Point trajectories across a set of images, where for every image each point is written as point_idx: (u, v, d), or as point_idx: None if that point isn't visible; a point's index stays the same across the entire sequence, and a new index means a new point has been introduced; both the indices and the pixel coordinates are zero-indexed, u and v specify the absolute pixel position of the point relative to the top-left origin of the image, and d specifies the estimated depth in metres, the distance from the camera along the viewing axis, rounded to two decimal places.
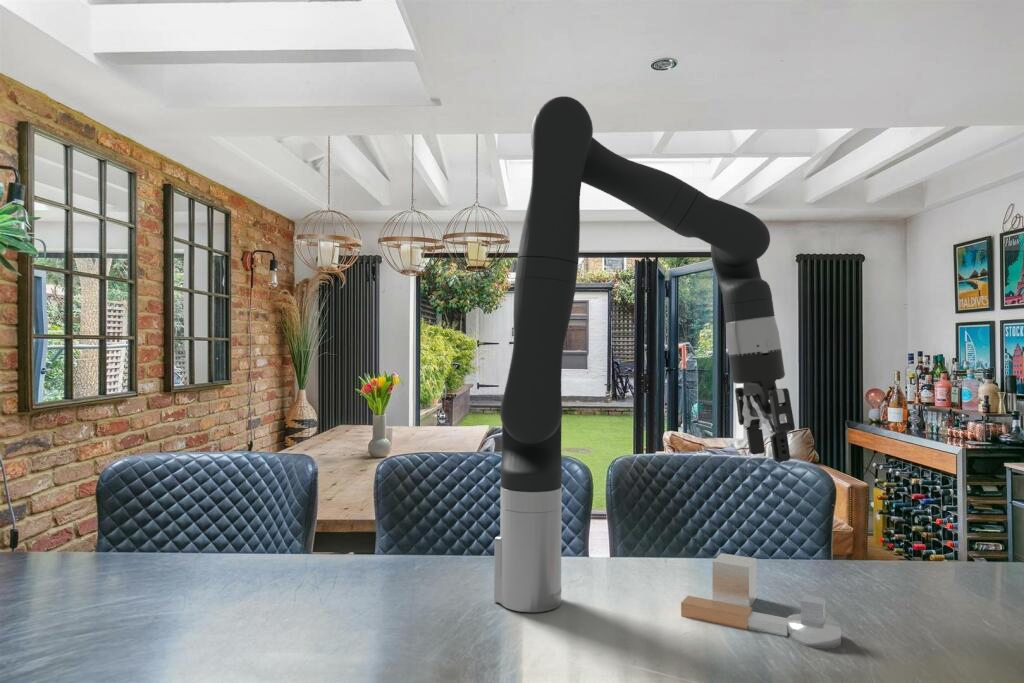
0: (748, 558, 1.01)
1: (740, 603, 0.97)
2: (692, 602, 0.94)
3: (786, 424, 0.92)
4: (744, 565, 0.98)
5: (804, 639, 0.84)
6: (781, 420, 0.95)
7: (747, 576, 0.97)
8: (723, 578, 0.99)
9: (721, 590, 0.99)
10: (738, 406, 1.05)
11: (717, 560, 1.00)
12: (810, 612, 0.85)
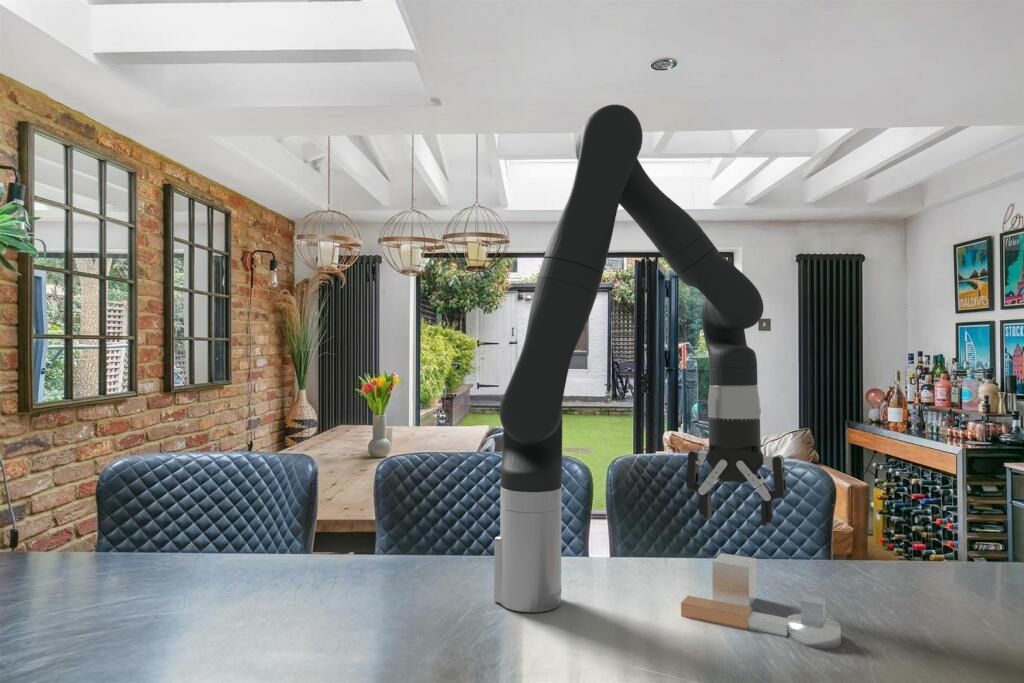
0: (748, 558, 1.01)
1: (740, 603, 0.97)
2: (692, 602, 0.94)
3: (783, 489, 0.97)
4: (744, 565, 0.98)
5: (804, 639, 0.84)
6: (765, 485, 0.99)
7: (747, 576, 0.97)
8: (723, 578, 0.99)
9: (721, 590, 0.99)
10: (691, 470, 1.03)
11: (717, 560, 1.00)
12: (810, 612, 0.85)
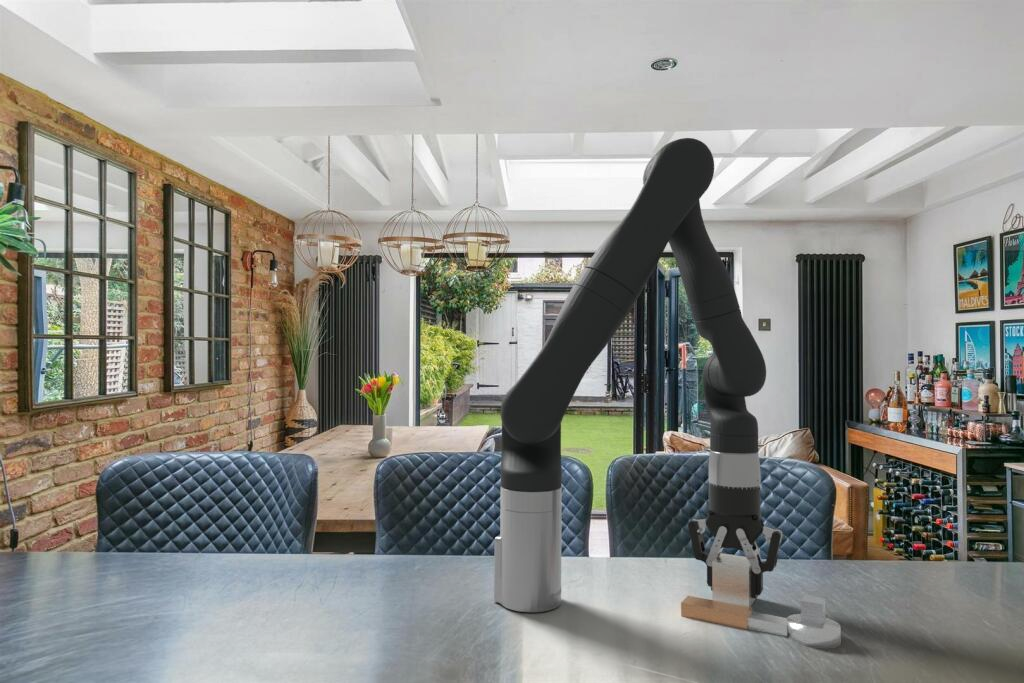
0: None
1: (740, 603, 0.97)
2: (692, 602, 0.94)
3: None
4: (744, 565, 0.98)
5: (804, 639, 0.84)
6: (757, 556, 0.99)
7: (747, 576, 0.97)
8: (723, 578, 0.99)
9: (721, 590, 0.99)
10: (695, 540, 1.02)
11: (717, 560, 1.00)
12: (810, 612, 0.85)
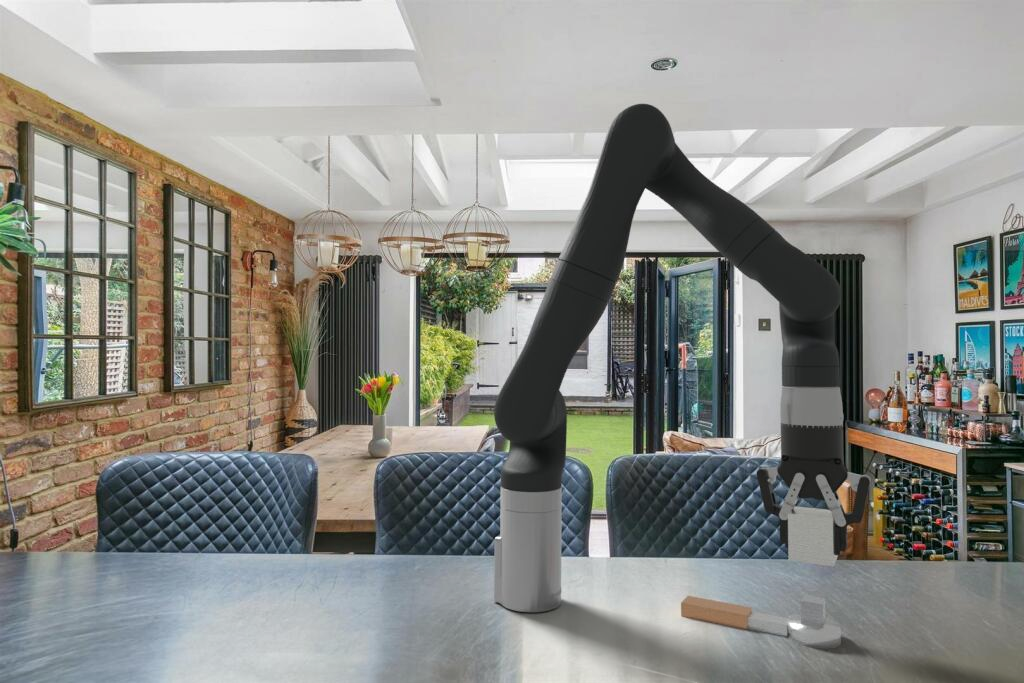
0: (827, 510, 0.88)
1: (822, 560, 0.84)
2: (692, 602, 0.94)
3: None
4: (826, 516, 0.84)
5: (804, 639, 0.84)
6: None
7: (831, 529, 0.83)
8: (801, 532, 0.85)
9: (799, 546, 0.85)
10: (765, 491, 0.89)
11: (793, 512, 0.87)
12: (811, 612, 0.85)
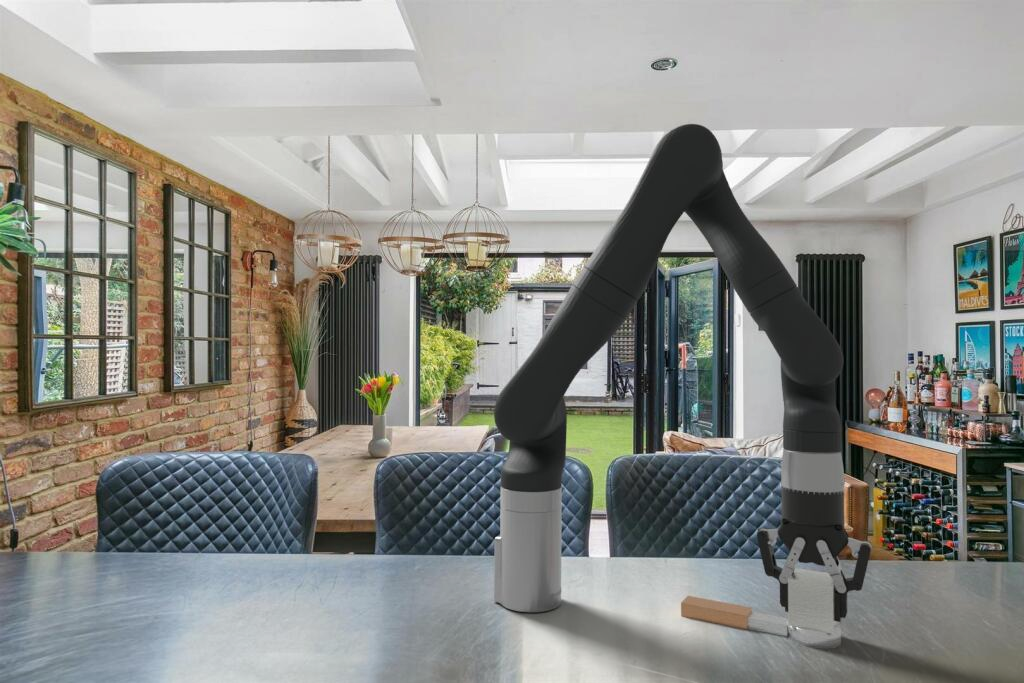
0: (828, 574, 0.88)
1: (822, 627, 0.83)
2: (692, 602, 0.94)
3: None
4: (827, 583, 0.84)
5: (804, 639, 0.84)
6: (840, 572, 0.86)
7: (831, 596, 0.83)
8: (801, 598, 0.85)
9: (799, 612, 0.85)
10: (766, 553, 0.89)
11: (793, 576, 0.86)
12: None
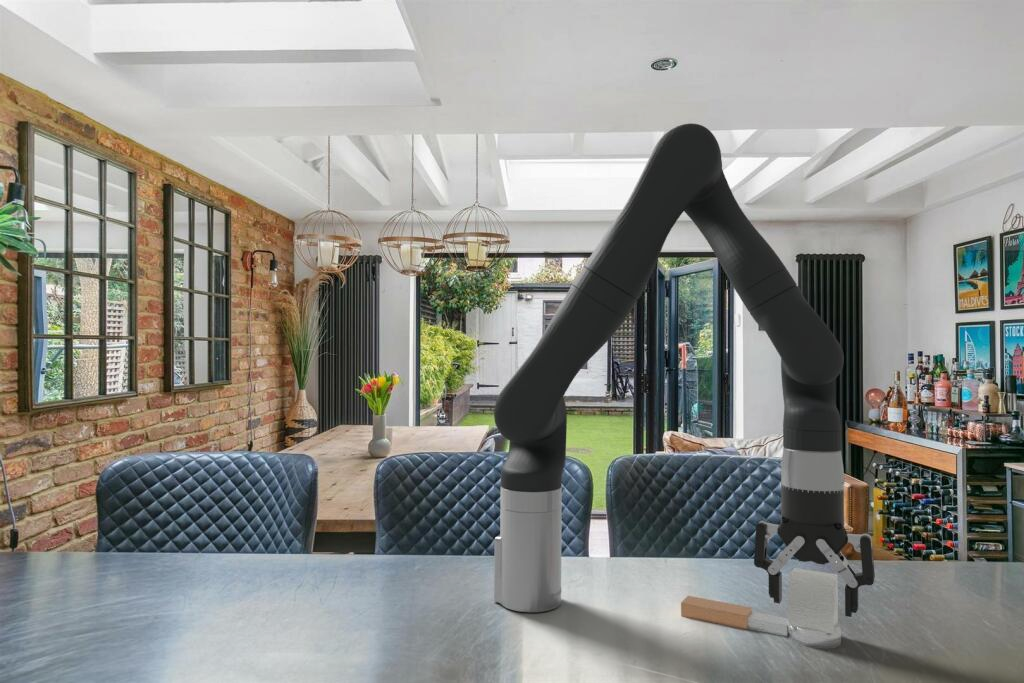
0: (828, 574, 0.87)
1: (822, 627, 0.83)
2: (692, 602, 0.94)
3: None
4: (827, 583, 0.84)
5: (804, 639, 0.84)
6: (848, 567, 0.85)
7: (831, 596, 0.83)
8: (801, 598, 0.85)
9: (799, 612, 0.85)
10: (760, 545, 0.89)
11: (794, 576, 0.86)
12: None
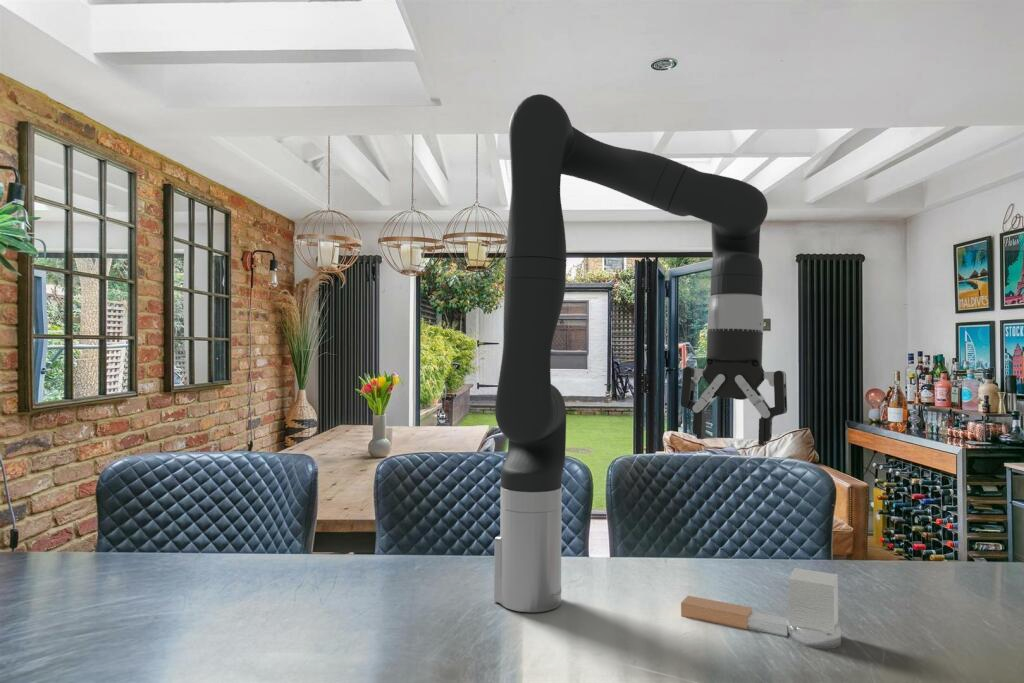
0: (828, 574, 0.87)
1: (823, 627, 0.83)
2: (692, 602, 0.94)
3: None
4: (827, 583, 0.84)
5: (804, 639, 0.84)
6: (764, 403, 0.93)
7: (831, 596, 0.83)
8: (802, 598, 0.85)
9: (799, 612, 0.85)
10: (686, 386, 0.96)
11: (794, 577, 0.86)
12: None
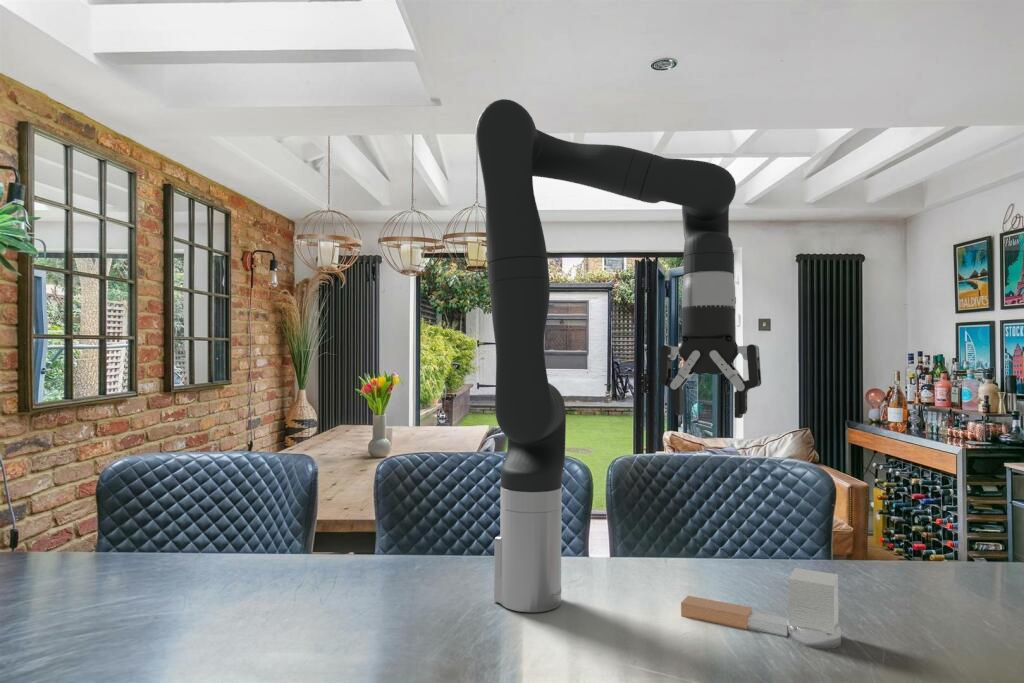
0: (828, 574, 0.87)
1: (823, 627, 0.83)
2: (692, 602, 0.94)
3: (758, 379, 0.93)
4: (827, 583, 0.84)
5: (804, 639, 0.84)
6: (739, 377, 0.95)
7: (831, 596, 0.83)
8: (802, 598, 0.85)
9: (799, 612, 0.85)
10: (663, 364, 0.99)
11: (794, 577, 0.86)
12: None
